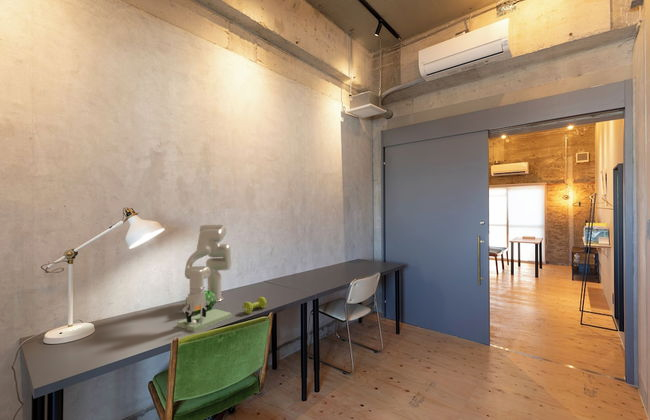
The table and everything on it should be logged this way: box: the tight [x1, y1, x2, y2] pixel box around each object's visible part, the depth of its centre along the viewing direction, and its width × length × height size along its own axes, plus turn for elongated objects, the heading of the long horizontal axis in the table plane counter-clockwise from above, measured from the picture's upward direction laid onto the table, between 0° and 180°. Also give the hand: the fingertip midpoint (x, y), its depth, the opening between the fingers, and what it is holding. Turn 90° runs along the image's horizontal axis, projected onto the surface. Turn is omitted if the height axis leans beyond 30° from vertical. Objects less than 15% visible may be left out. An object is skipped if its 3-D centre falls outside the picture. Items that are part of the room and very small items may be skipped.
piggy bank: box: [185, 289, 216, 315], centre depth 196 cm, size 14×18×15 cm
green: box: [176, 304, 233, 333], centre depth 178 cm, size 16×26×14 cm, turn 149°
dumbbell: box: [242, 296, 268, 315], centre depth 198 cm, size 16×8×7 cm, turn 146°
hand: (196, 319), depth 173 cm, fingers open, 9 cm apart
